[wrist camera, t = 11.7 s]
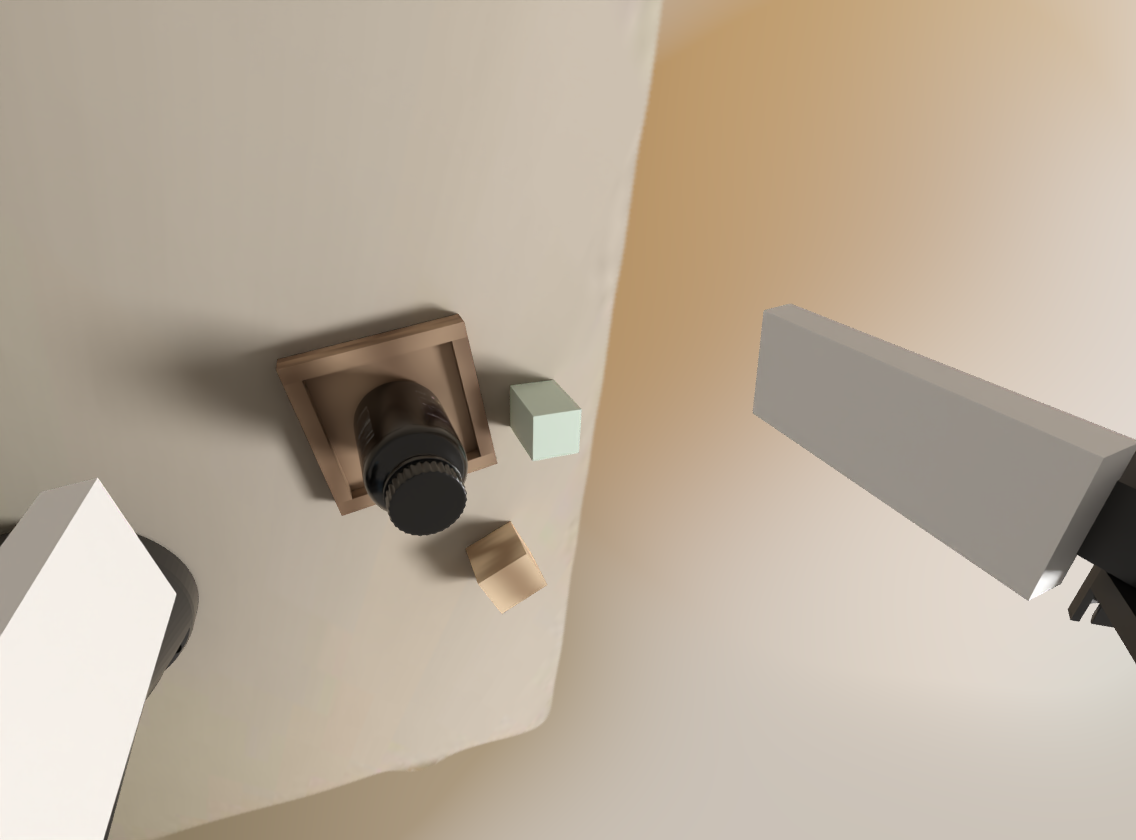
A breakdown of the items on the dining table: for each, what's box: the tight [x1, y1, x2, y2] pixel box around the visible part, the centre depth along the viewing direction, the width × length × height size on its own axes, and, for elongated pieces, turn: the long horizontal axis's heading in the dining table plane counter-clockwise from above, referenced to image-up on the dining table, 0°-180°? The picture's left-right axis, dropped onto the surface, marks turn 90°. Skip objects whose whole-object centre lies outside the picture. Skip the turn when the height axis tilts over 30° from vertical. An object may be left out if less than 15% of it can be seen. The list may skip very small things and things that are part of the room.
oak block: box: [466, 521, 547, 613], centre depth 52 cm, size 5×5×5 cm
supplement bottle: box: [353, 381, 468, 536], centre depth 37 cm, size 7×7×12 cm
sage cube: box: [510, 380, 582, 461], centre depth 45 cm, size 4×4×6 cm
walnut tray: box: [276, 314, 497, 516], centre depth 42 cm, size 13×13×2 cm
